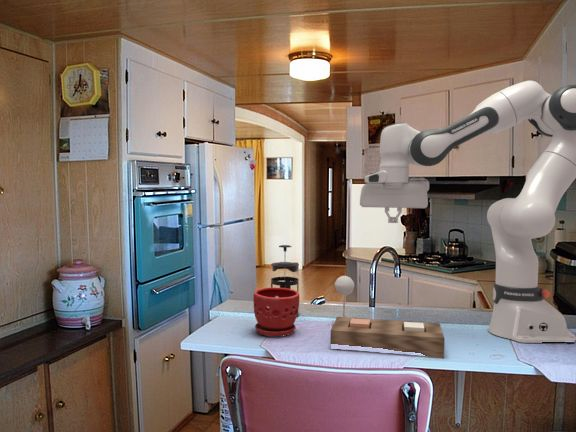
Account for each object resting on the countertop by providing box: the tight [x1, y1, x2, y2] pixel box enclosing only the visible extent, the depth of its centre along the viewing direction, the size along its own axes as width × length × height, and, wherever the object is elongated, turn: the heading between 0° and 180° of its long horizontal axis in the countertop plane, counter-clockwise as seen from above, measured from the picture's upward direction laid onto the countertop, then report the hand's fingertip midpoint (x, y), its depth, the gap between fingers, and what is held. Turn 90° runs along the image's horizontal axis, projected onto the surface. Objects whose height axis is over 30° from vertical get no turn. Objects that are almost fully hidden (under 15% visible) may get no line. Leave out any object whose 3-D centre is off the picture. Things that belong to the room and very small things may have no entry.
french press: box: [270, 244, 300, 319], centre depth 161 cm, size 12×9×23 cm
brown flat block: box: [329, 316, 445, 359], centre depth 132 cm, size 28×14×5 cm, turn 78°
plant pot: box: [252, 286, 300, 337], centre depth 142 cm, size 13×13×12 cm
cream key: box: [404, 321, 424, 332], centre depth 130 cm, size 5×5×4 cm
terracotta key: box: [350, 317, 370, 329], centre depth 133 cm, size 5×5×4 cm
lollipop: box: [334, 275, 355, 317], centre depth 151 cm, size 6×6×15 cm
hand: (392, 222), depth 151 cm, fingers closed
